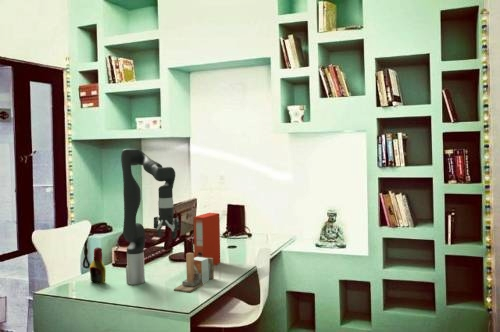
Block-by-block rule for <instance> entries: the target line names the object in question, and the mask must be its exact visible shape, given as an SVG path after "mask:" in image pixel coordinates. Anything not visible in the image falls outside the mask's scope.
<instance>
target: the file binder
mask: <svg viewBox="0 0 500 332" xmlns="http://www.w3.org/2000/svg"><path fill="white" fill-rule="evenodd" d="M220 218H221V217H220V213H218V212H206V213H202V214H199V215H196V216H193V253H194V258H195V257H207V258H213V267H214V266H216V265H218V264H220V263H221V233H220V232H221V227H220Z"/></svg>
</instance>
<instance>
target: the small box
mask: <svg viewBox="0 0 500 332" xmlns="http://www.w3.org/2000/svg"><path fill="white" fill-rule="evenodd" d="M194 272H197V273H201V283H203V284H205V283H208V282H209V281H210V279H209V268H208V258H202V257H195V258H194Z"/></svg>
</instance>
